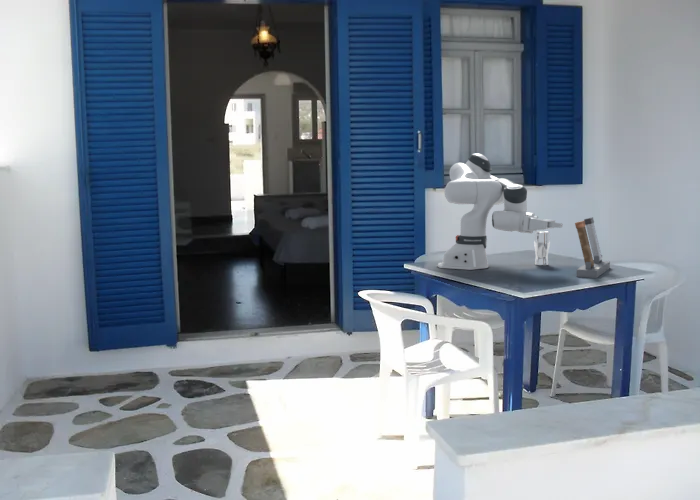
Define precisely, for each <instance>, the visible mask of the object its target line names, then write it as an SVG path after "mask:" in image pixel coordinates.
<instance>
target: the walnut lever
mask: <svg viewBox="0 0 700 500" xmlns="http://www.w3.org/2000/svg"><path fill="white" fill-rule="evenodd" d="M574 226H575V228H576V231H577V235H578V240H579V244H580V248H581V251H582V256H583V260H584V264H585V265H586V262H591V267H592V266H593V265H594V261H593V260H594V257H593V253H592V249H591V245H590V241H589V236H588V232H587V228H586V225H585V221H584V220H581V221H580V220H579V221H576V222H575V223H574Z"/></svg>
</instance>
